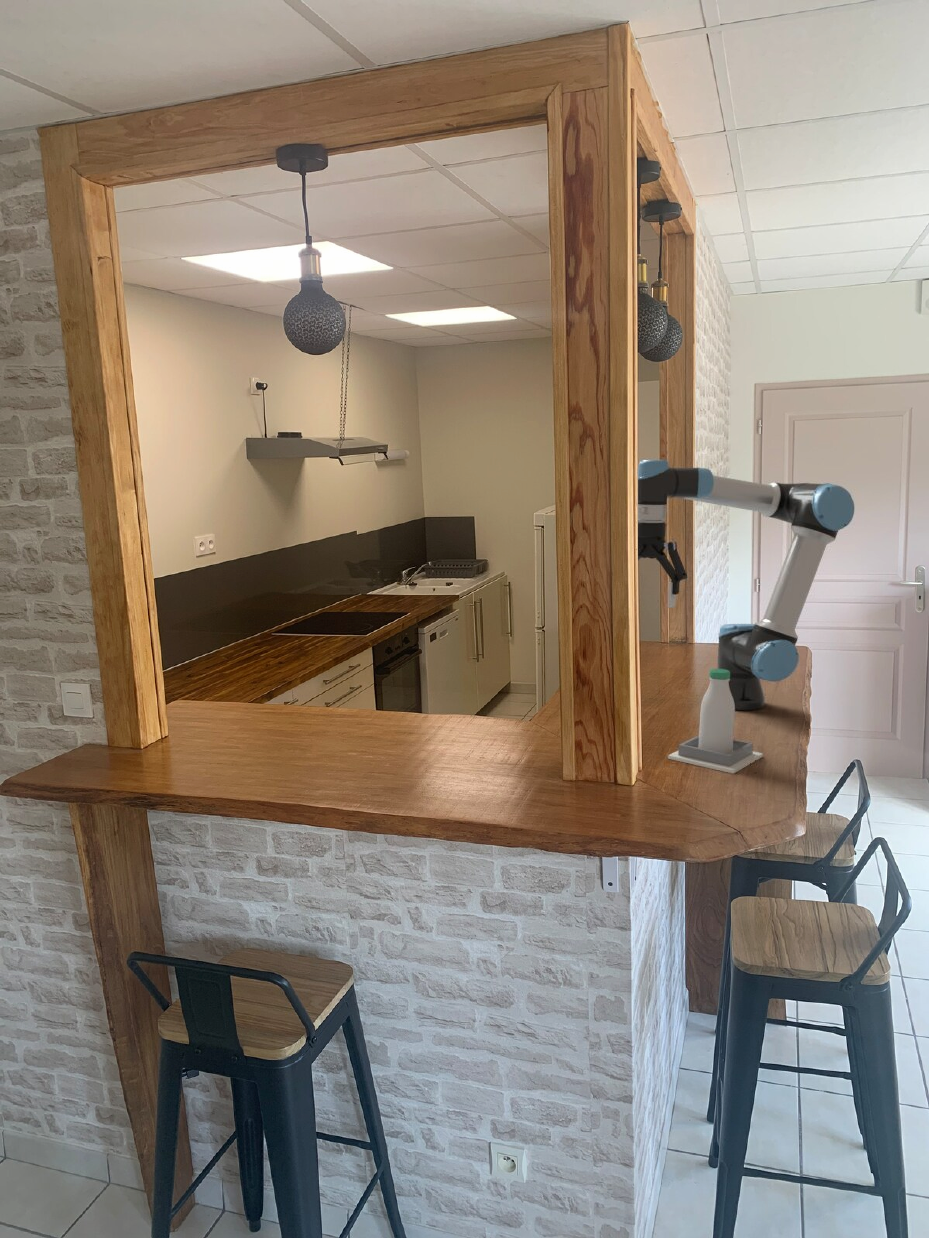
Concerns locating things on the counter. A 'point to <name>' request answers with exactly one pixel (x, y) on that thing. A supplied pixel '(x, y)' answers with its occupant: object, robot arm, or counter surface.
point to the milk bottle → (717, 714)
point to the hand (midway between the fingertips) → (647, 604)
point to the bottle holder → (716, 756)
